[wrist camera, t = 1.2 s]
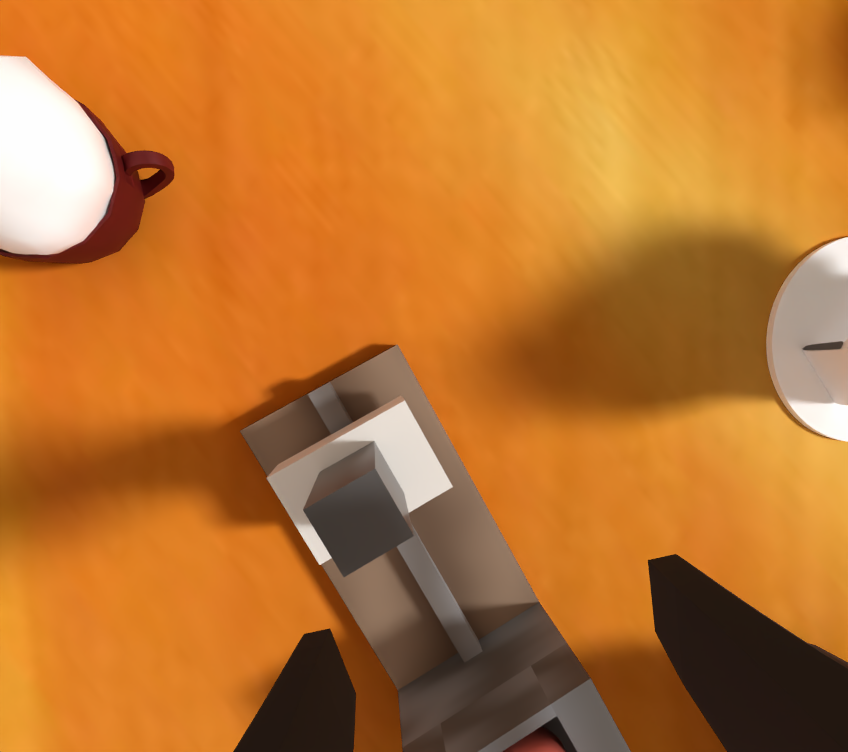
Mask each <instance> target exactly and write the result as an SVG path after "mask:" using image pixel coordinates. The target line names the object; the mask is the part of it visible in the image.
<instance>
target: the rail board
mask: <svg viewBox="0 0 848 752" xmlns="http://www.w3.org/2000/svg"><path fill="white" fill-rule="evenodd" d="M399 396H402V397H403V399H404V400H405V402H406V403H407V405H408V407H409V409H410V411H411V412H412V414H413V416H414V418H415V420H416V421H417V423H418V425H419V427H420V429H421V430H422V432H423V434H424V436H425V438H426V439H427V441H428V443H429V445H430V447H431V448H432V450H433V452H434V454H435V456H436V457H437V459H438V461H439V463H440V465H441V466H442V468H443V470H444V472H445V474H446V475H447V477H448V479H449V481H450V482H451V484H452V486H453V487H452V488H450V489H449V490H447V491H445V492H443V493H442V494H440V495H438V496H437V497H435V498H433V499H431V500H430V501H428V502H426V503H425V504H423V505H421V506H420V507H418V508H416V509H414V510H413V511H411V512H409V516H410V520H411V525H412V529H413V533H414V536H413V537H412V538H410V539H408V540H407V541H405V542H403V543H401V544H400V545H398V546H396V547H395V548H393V549H391V550H390V551H388V552H386V553H385V554H383V555H381V556H380V557H378V558H376V559H374V560H373V561H371V562H369V563H368V564H366V565H364V566H363V567H361V568H359V569H358V570H356V571H354V572H353V573H351V574H349V575H347V576H346V577H343V576H342V574H341V572H340V571H339V569H338V567H337V566H336V564H335V562H334V561H333V559H332V558H331V559H329V560H328V561H326V562H324V563H322V564H321V565H322V567H323V568H324V570H325V571H326V573H327V575H328V576H329V578H330V580H331V581H332V583H333V585H334V586H335V588H336V590H337V591H338V593H339V594H340V596H341V598H342V599H343V601H344V603H345V604H346V606H347V608H348V609H349V611H350V612H351V614H352V616H353V617H354V619H355V621H356V622H357V624H358V626H359V627H360V629H361V631H362V632H363V634H364V635H365V637H366V639H367V640H368V642H369V644H370V645H371V647H372V649H373V650H374V652H375V653H376V655H377V657H378V658H379V660H380V662H381V663H382V665H383V667H384V668H385V670H386V672H387V673H388V675H389V676H390V678H391V680H392V681H393V683H394V685H395V686H396V688H397V690H398V698H399V710H400V723H401V735H402V748H403V752H503V751H504V750H506V749H507V748H509V747H510V746H512V745H513V744H515V743H516V742H518V741H519V740H521V739H522V738H524V737H525V736H527V735H529V734H530V733H532V732H533V731H535V730H536V729H538V728H539V727H543V728H546V729H548V730H549V731H551V732H552V733H554V734H555V735H556V736H557V737H558V738H559V739H560V741H561V742H562V744H563V746H564V748H565V750H566V752H631V751H630V749H629V748H628V746H627V744H626V742H625V740H624V738H623V737H622V735H621V733H620V731H619V729H618V727H617V726H616V724H615V722H614V720H613V718H612V716H611V715H610V713H609V711H608V709H607V707H606V705H605V704H604V702H603V700H602V698H601V696H600V695H599V693H598V691H597V689H596V687H595V685H594V684H593V682H592V680H591V678H590V677H589V675H588V674H587V672H586V671H585V669H584V668H583V666H582V665H581V663H580V662H579V660H578V659H577V657H576V656H575V654H574V653H573V651H572V650H571V648H570V647H569V646H568V644H567V643H566V641H565V640H564V638H563V637H562V635H561V634H560V632H559V631H558V629H557V628H556V626H555V625H554V623H553V622H552V620H551V619H550V617H549V616H548V614H547V613H546V611H545V610H544V608H543V607H542V606H541V604H540V603H539V601H538V599H537V597H536V595H535V594H534V592H533V590H532V588H531V586H530V584H529V583H528V581H527V579H526V577H525V575H524V574H523V572H522V570H521V568H520V566H519V564H518V563H517V561H516V559H515V557H514V555H513V554H512V552H511V550H510V548H509V546H508V544H507V543H506V541H505V539H504V537H503V535H502V534H501V532H500V530H499V528H498V526H497V524H496V523H495V521H494V519H493V517H492V515H491V514H490V512H489V510H488V508H487V506H486V504H485V503H484V501H483V499H482V497H481V495H480V494H479V492H478V490H477V488H476V486H475V484H474V483H473V481H472V479H471V477H470V475H469V474H468V472H467V470H466V468H465V466H464V465H463V463H462V461H461V459H460V457H459V455H458V454H457V452H456V450H455V448H454V446H453V445H452V443H451V441H450V439H449V437H448V435H447V434H446V432H445V430H444V428H443V426H442V425H441V423H440V421H439V419H438V417H437V415H436V414H435V412H434V410H433V408H432V406H431V405H430V403H429V401H428V399H427V397H426V395H425V394H424V392H423V390H422V388H421V386H420V385H419V383H418V381H417V379H416V377H415V375H414V374H413V372H412V370H411V368H410V366H409V365H408V363H407V361H406V359H405V357H404V355H403V354H402V352H401V350H400V348H399V346H398V345H395V346H393V347H392V348H390V349H388V350H386V351H384V352H383V353H381V354H379V355H377V356H375V357H373V358H372V359H370V360H368V361H366V362H364V363H362V364H361V365H359V366H357V367H355V368H353V369H352V370H350V371H348V372H346V373H344V374H342V375H341V376H339V377H337V378H335V379H333V380H332V381H330V382H328V383H326V384H324V385H322V386H321V387H319V388H317V389H315V390H313V391H311V392H310V393H308V394H306V395H304V396H302V397H301V398H299V399H297V400H295V401H293V402H291V403H290V404H288V405H286V406H284V407H282V408H280V409H279V410H277V411H275V412H273V413H271V414H270V415H268V416H266V417H264V418H262V419H260V420H259V421H257V422H255V423H253V424H251V425H250V426H248V427H246V428H244V429H243V430H241V431H240V432H241V434H242V435H243V437H244V439H245V440H246V442H247V444H248V445H249V447H250V448H251V450H252V452H253V453H254V455H255V457H256V458H257V460H258V462H259V463H260V465H261V467H262V468H263V470H264V471H265V473H266V475H267V476H269V474H270V473H271V472H272V471H273V470H274V468H275V467H276V466H277V465H278V464H280V463H281V462H283V461H285V460H287V459H288V458H290V457H292V456H294V455H296V454H297V453H299V452H301V451H303V450H305V449H306V448H308V447H310V446H312V445H313V444H315V443H317V442H319V441H321V440H322V439H324V438H326V437H328V436H330V435H331V434H333V433H335V432H337V431H338V430H340V429H342V428H344V427H346V426H347V425H349V424H351V423H353V422H355V421H356V420H358V419H360V418H362V417H363V416H365V415H367V414H369V413H371V412H372V411H374V410H376V409H378V408H380V407H381V406H383V405H385V404H387V403H388V402H390V401H392V400H394V399H396V398H397V397H399Z"/></svg>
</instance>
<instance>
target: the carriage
mask: <svg viewBox="0 0 848 752" xmlns="http://www.w3.org/2000/svg"><path fill="white" fill-rule="evenodd" d="M267 480H268V481H269V483H270V485H271V486H272V488H273V490H274V491H275V493H276V495H277V496H278V498H279V499H280V501H281V503H282V504H283V506H284V508H285V509H286V511H287V513H288V514H289V516H290V518H291V519H292V521H293V522H294V524H295V526H296V527H297V529H298V531H299V532H300V534H301V536H302V537H303V539H304V540H305V542H306V544H307V545H308V547H309V549H310V550H311V552H312V554H313V555H314V557H315V558H316V560H317V562H318V563H319V565H321V564H322V563H324V562H326V561H328V560H329V559H331V558H332V559H333V561H334V562H335V564H336V566H337V567H338V569H339V571H340V572H341V574H342V576H343V577H346V576H347V575H349V574H351V573H353V572H354V571H356V570H358V569H359V568H361V567H363V566H364V565H366V564H368V563H369V562H371V561H373V560H374V559H376V558H378V557H380V556H381V555H383V554H385V553H386V552H388V551H390V550H391V549H393V548H395V547H396V546H398V545H400V544H401V543H403V542H405V541H407V540H408V539H410V538H412V537H413V536H414V533H413V529H412V525H411V520H410V516H409V512H411V511H413V510H414V509H416V508H418V507H420V506H421V505H423V504H425V503H426V502H428V501H430V500H431V499H433V498H435V497H437V496H438V495H440V494H442V493H443V492H445V491H447V490H449V489H450V488H452V487H453V486H452V484H451V482H450V481H449V479H448V477H447V475H446V474H445V472H444V470H443V468H442V466H441V465H440V463H439V461H438V459H437V457H436V456H435V454H434V452H433V450H432V448H431V447H430V445H429V443H428V441H427V439H426V438H425V436H424V434H423V432H422V430H421V429H420V427H419V425H418V423H417V421H416V420H415V418H414V416H413V414H412V412H411V411H410V409H409V407H408V405H407V403H406V402H405V400H404V399H403V397H402V396H399V397H397V398H396V399H394V400H392V401H390V402H388V403H387V404H385V405H383V406H381V407H380V408H378V409H376V410H374V411H372V412H371V413H369V414H367V415H365V416H363V417H362V418H360V419H358V420H356V421H355V422H353V423H351V424H349V425H347V426H346V427H344V428H342V429H340V430H338V431H337V432H335V433H333V434H331V435H330V436H328V437H326V438H324V439H322V440H321V441H319V442H317V443H315V444H313V445H312V446H310V447H308V448H306V449H305V450H303V451H301V452H299V453H297V454H296V455H294V456H292V457H290V458H288V459H287V460H285V461H283V462H281V463H280V464H278V465H277V466H276V467H275V468H274V470H273V471H272V472H271V473H270V474H269V476H268V477H267Z"/></svg>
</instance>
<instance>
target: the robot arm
mask: <svg viewBox="0 0 848 752" xmlns="http://www.w3.org/2000/svg"><path fill="white" fill-rule="evenodd" d="M648 565H649V575H650V585H651V595H652V605H653V615H654V624H655V632H656V634H657V636H658V638H659V639H660V641H661V643H662V645H663V647H664V649H665V651H666V653H667V655H668V657H669V659H670V661H671V662H672V664H673V666H674V668H675V670H676V672H677V674H678V675H679V677H680V679H681V681H682V683H683V684H684V686H685V688H686V689H687V691H688V692H689V694H690V695H691V697H692V698H693V700H694V702H695V703H696V705H697V706H698V708H699V709H700V711H701V712H702V714H703V715H704V717H705V718H706V720H707V722H708V723H709V725H710V726H711V728H712V729H713V731H714V732H715V734H716V735H717V737H718V738H719V740H720V741H721V743H722V744H723V746H724V747H725V749H726V750H727V752H848V668H847V667H845V666H843V665H842V664H840V663H839V662H837V661H835V660H834V659H832V658H830V657H829V656H827V655H825V654H824V653H822V652H821V651H819V650H817V649H816V648H814V647H813V646H811V645H810V644H808V643H806V642H805V641H803V640H802V639H800V638H799V637H797V636H796V635H794V634H792V633H791V632H789V631H788V630H786V629H785V628H783V627H782V626H780V625H779V624H777V623H776V622H774V621H773V620H771V619H770V618H768V617H767V616H765V615H763V614H762V613H760V612H759V611H758V610H756V609H755V608H753V607H752V606H750V605H749V604H747V603H746V602H744V601H743V600H741V599H740V598H738V597H737V596H736V595H734V594H733V593H731V592H730V591H728V590H727V589H725V588H724V587H723V586H721V585H720V584H718V583H717V582H715V581H714V580H713V579H711V578H710V577H708V576H707V575H705V574H704V573H703V572H701V571H700V570H698V569H697V568H695V567H694V566H693V565H691V564H690V563H688V562H687V561H685V560H684V559H683V558H681V557H680V556H678V555H676V554H674V555H670V556H665V557H661V558H656V559H651V560H648ZM355 702H356V693H355V690H354V688H353V685H352V683H351V680H350V678H349V675H348V673H347V670H346V668H345V665H344V663H343V660H342V657H341V655H340V652H339V650H338V647H337V645H336V642H335V640H334V637H333V635H332V632H331V630H330V629H326V630H321V631H316V632H312V633H307V634H304V635H303V637H302V638H301V640H300V641H299V643H298V645H297V646H296V648H295V650H294V651H293V653H292V655H291V657H290V658H289V660H288V662H287V663H286V665H285V667H284V669H283V670H282V672H281V674H280V675H279V677H278V679H277V681H276V682H275V684H274V686H273V687H272V689H271V691H270V692H269V694H268V696H267V697H266V699H265V701H264V703H263V704H262V706H261V708H260V709H259V711H258V712H257V714H256V716H255V717H254V719H253V721H252V722H251V724H250V725H249V727H248V729H247V730H246V732H245V734H244V735H243V737H242V739H241V740H240V742H239V743H238V745H237V747H236V748H235V750H234V751H233V752H353V749H354V730H355Z"/></svg>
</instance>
